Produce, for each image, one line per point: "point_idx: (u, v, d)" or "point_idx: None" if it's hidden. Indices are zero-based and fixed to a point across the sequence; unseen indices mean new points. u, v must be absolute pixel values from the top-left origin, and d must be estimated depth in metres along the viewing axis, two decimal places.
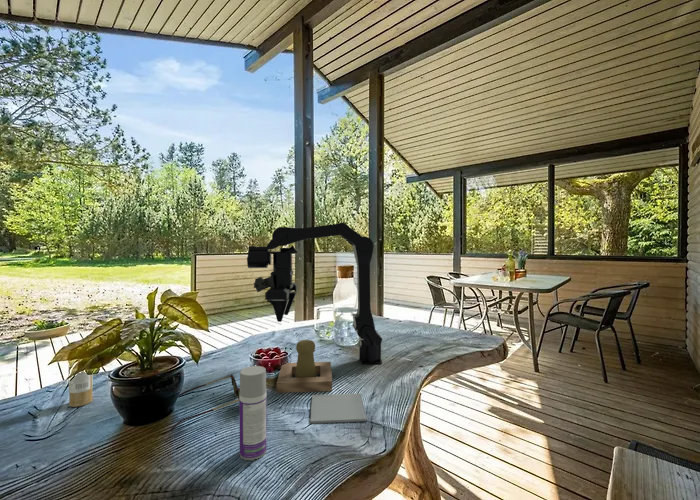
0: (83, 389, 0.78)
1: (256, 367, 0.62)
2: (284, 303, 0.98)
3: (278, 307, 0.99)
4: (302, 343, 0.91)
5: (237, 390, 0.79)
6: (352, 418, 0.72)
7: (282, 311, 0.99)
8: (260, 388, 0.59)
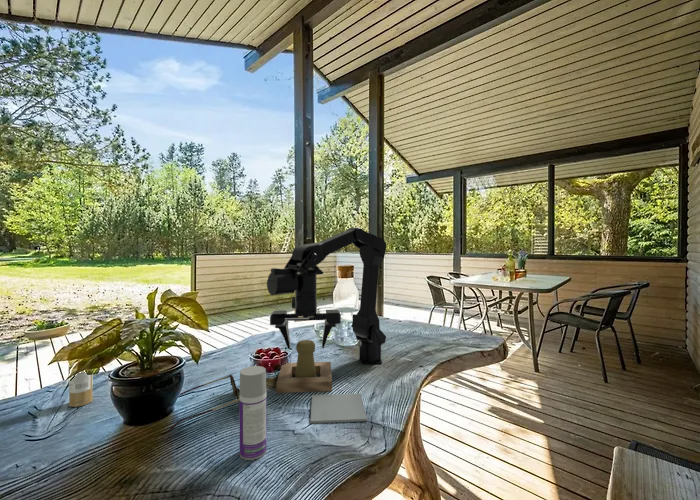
0: (83, 389, 0.78)
1: (256, 367, 0.62)
2: None
3: None
4: (302, 343, 0.91)
5: (236, 390, 0.79)
6: (352, 418, 0.72)
7: None
8: (260, 388, 0.59)
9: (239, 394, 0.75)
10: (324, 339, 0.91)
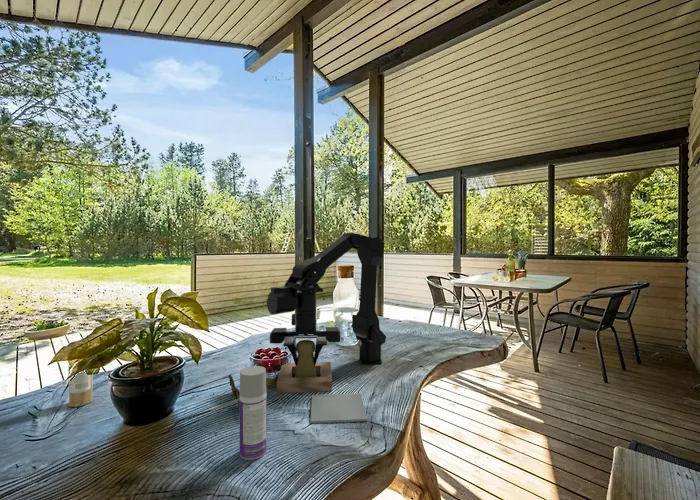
0: (83, 389, 0.78)
1: (256, 367, 0.62)
2: None
3: None
4: (302, 343, 0.91)
5: (235, 391, 0.79)
6: (352, 418, 0.72)
7: None
8: (260, 388, 0.59)
9: (238, 394, 0.75)
10: (315, 357, 0.91)
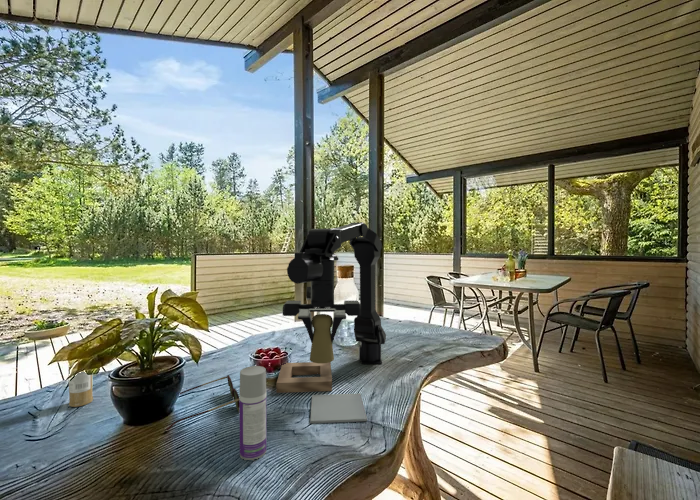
0: (83, 389, 0.78)
1: (256, 367, 0.62)
2: None
3: None
4: (318, 316, 0.81)
5: (233, 391, 0.78)
6: (352, 418, 0.72)
7: None
8: (260, 388, 0.59)
9: (236, 395, 0.74)
10: (333, 333, 0.82)
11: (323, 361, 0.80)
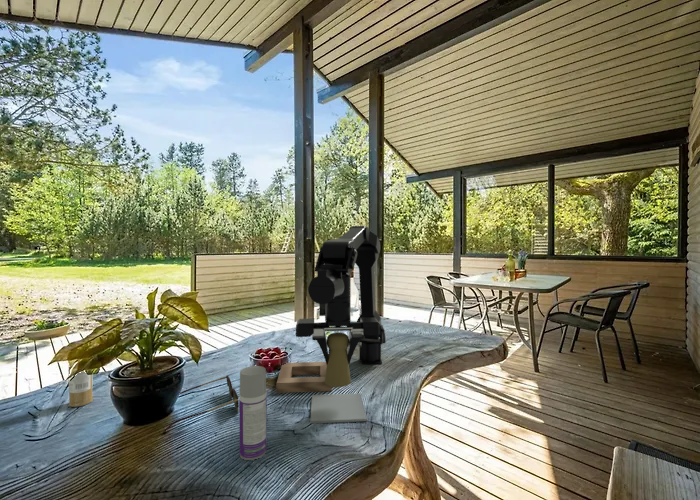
0: (83, 389, 0.78)
1: (256, 367, 0.62)
2: None
3: None
4: (334, 336, 0.75)
5: (232, 391, 0.78)
6: (352, 418, 0.72)
7: (322, 351, 0.76)
8: (260, 388, 0.59)
9: (235, 395, 0.74)
10: (350, 354, 0.76)
11: (340, 384, 0.74)
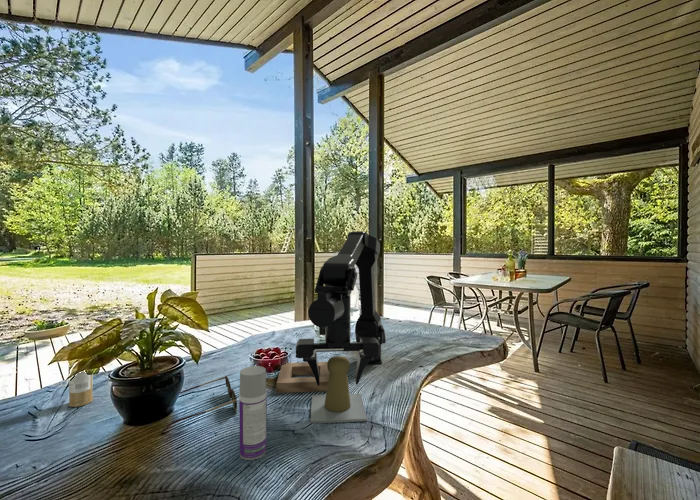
0: (83, 389, 0.78)
1: (256, 367, 0.62)
2: None
3: None
4: (335, 360, 0.76)
5: (231, 392, 0.78)
6: (352, 418, 0.72)
7: None
8: (260, 388, 0.59)
9: (233, 396, 0.74)
10: (359, 374, 0.76)
11: (340, 409, 0.74)
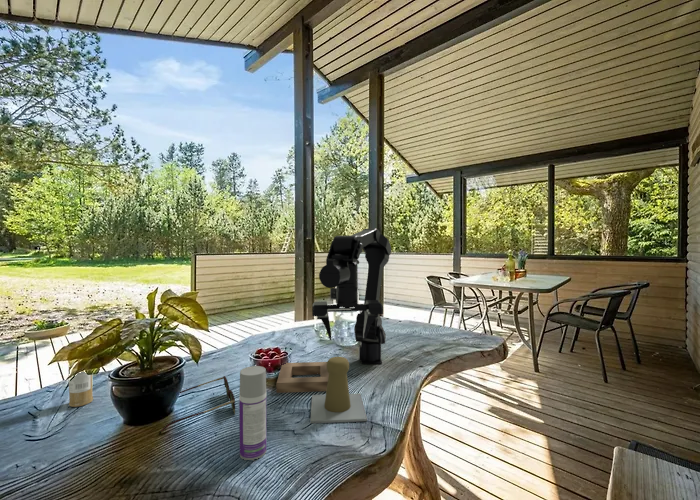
0: (83, 389, 0.78)
1: (256, 367, 0.62)
2: None
3: None
4: (334, 361, 0.75)
5: (229, 392, 0.78)
6: (352, 418, 0.72)
7: (326, 329, 0.90)
8: (260, 388, 0.59)
9: (231, 396, 0.74)
10: (366, 330, 0.90)
11: (340, 410, 0.74)
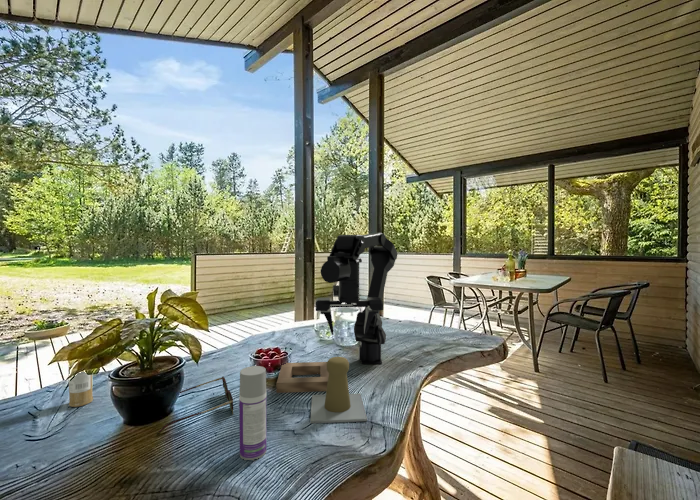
0: (83, 389, 0.78)
1: (256, 367, 0.62)
2: None
3: None
4: (334, 361, 0.75)
5: (227, 393, 0.78)
6: (352, 418, 0.72)
7: None
8: (260, 388, 0.59)
9: (230, 397, 0.74)
10: (367, 325, 0.94)
11: (340, 410, 0.74)
